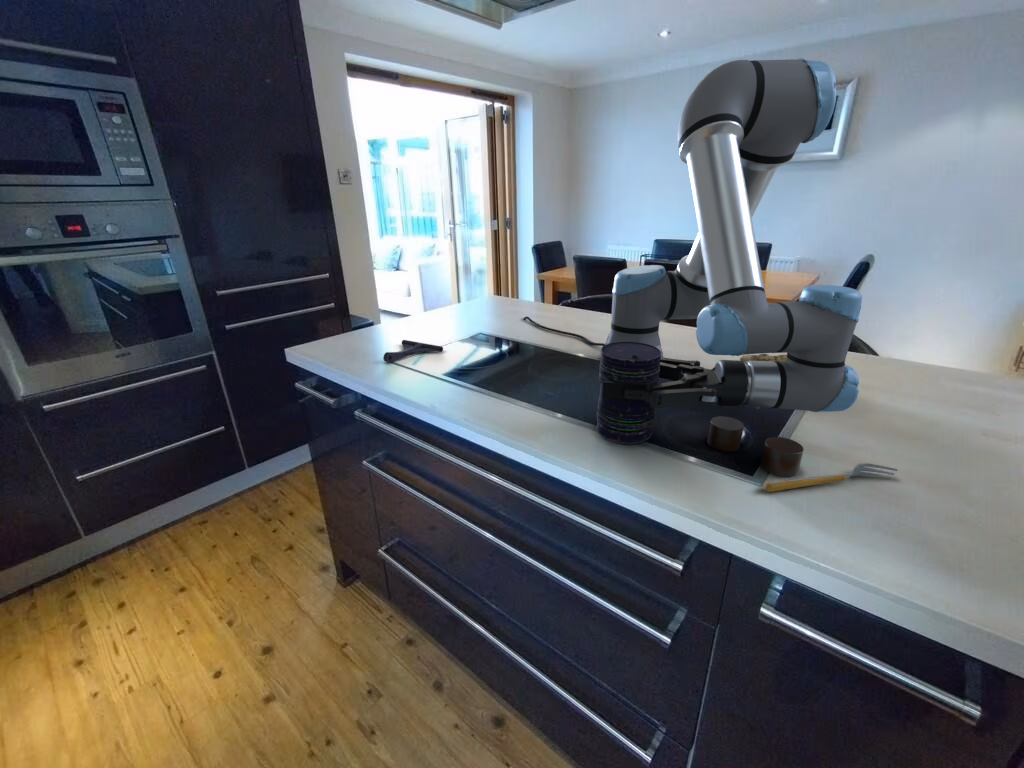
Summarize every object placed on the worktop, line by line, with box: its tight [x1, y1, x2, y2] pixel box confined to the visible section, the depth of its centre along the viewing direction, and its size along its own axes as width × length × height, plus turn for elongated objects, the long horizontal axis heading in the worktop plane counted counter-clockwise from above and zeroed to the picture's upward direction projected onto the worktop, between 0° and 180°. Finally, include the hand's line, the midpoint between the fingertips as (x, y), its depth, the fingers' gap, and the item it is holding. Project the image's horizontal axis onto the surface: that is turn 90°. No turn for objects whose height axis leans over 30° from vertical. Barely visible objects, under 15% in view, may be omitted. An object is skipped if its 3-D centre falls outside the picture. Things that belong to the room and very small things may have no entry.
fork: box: [763, 462, 899, 493], centre depth 63 cm, size 2×2×20 cm
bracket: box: [383, 339, 444, 364], centre depth 121 cm, size 14×15×3 cm
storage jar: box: [596, 342, 661, 445], centre depth 76 cm, size 10×10×15 cm
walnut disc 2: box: [760, 436, 805, 478], centre depth 67 cm, size 5×5×4 cm
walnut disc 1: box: [706, 415, 745, 453], centre depth 74 cm, size 5×5×4 cm
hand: (602, 376), depth 75 cm, fingers closed on storage jar, 10 cm apart
